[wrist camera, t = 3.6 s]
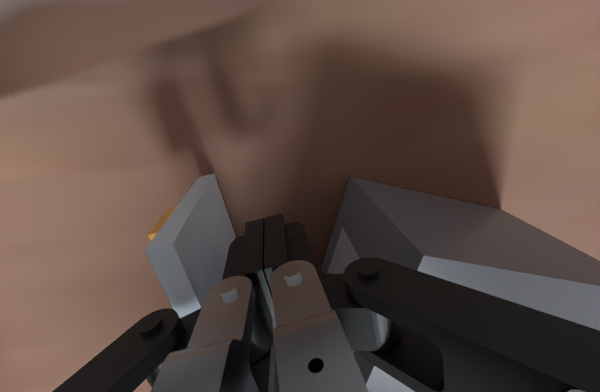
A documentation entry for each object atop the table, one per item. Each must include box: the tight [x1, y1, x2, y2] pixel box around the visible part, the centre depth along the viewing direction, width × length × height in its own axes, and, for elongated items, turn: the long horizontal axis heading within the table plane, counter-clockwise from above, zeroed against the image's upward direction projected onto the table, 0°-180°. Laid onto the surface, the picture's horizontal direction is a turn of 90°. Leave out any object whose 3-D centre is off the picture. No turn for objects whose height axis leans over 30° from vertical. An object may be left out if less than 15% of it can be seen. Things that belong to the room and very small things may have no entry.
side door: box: [145, 173, 280, 392], centre depth 14 cm, size 16×2×7 cm, turn 12°
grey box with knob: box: [320, 176, 600, 392], centre depth 15 cm, size 17×10×9 cm, turn 166°
